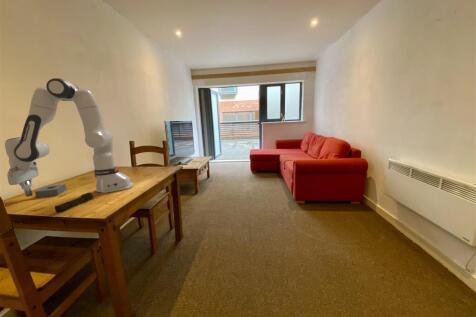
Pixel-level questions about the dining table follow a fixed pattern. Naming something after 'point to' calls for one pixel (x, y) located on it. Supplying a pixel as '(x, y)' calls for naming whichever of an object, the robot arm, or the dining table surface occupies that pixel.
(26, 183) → the steel pin
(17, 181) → the robot arm
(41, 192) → the hole block
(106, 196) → the dining table surface
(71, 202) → the hand tool
